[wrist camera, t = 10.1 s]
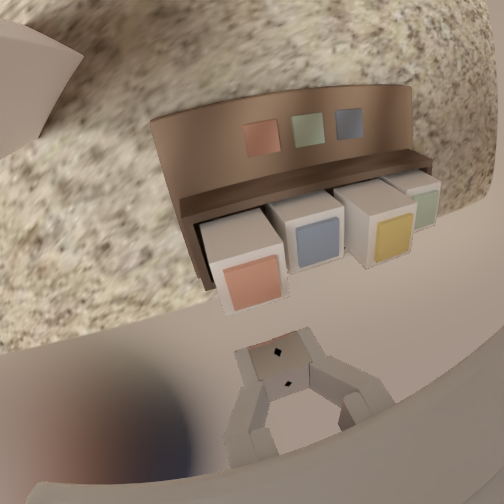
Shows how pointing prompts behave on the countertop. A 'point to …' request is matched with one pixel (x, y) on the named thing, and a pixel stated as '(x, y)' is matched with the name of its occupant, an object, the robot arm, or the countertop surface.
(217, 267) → the key terracotta
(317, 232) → the key slate
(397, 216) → the key mustard
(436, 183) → the key sage
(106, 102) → the countertop surface
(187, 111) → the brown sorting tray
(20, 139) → the milk
